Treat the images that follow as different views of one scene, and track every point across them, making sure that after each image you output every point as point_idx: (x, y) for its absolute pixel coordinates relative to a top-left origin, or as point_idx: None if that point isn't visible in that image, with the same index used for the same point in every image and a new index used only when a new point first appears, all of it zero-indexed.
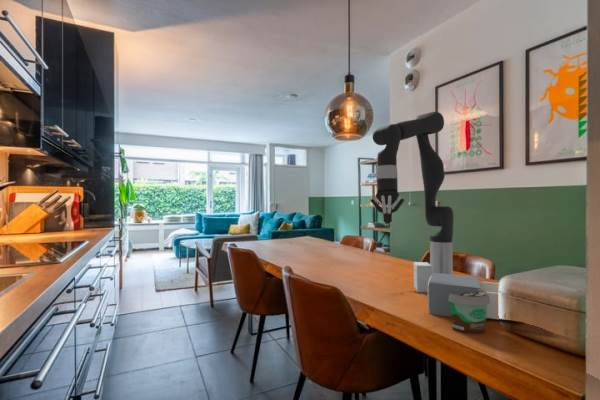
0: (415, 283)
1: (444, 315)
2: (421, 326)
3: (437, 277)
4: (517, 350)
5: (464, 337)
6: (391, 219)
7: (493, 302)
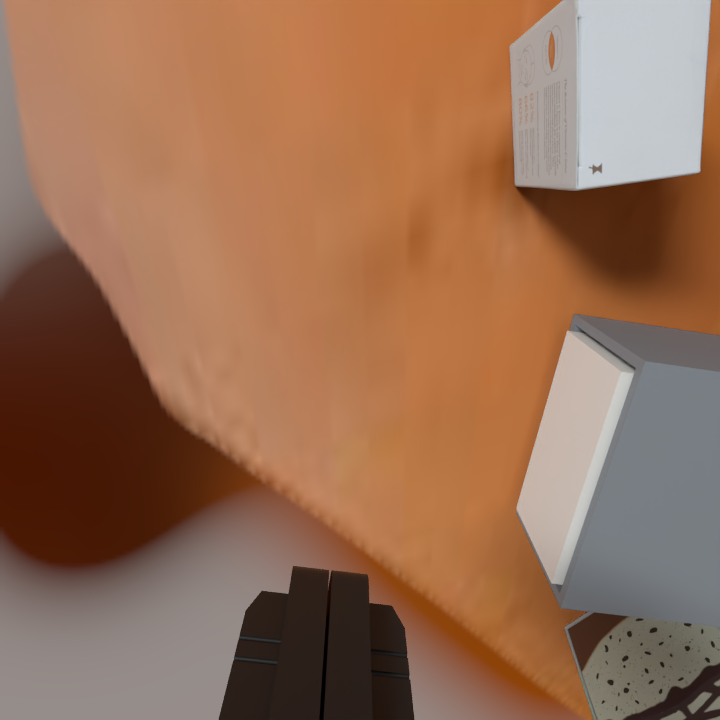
0: (522, 109)
1: None
2: (469, 628)
3: (639, 485)
4: None
5: None
6: (399, 667)
7: None
